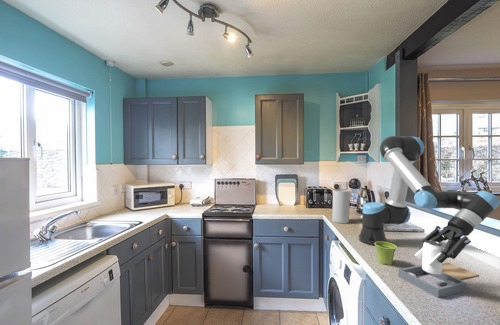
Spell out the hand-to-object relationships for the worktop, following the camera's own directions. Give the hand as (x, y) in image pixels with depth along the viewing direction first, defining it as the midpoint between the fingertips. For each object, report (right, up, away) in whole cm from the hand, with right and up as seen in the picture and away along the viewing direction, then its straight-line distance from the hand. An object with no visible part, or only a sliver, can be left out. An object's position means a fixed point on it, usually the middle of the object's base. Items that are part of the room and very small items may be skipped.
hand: (423, 261), depth 95 cm
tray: (+3, -9, +1) cm, 10 cm away
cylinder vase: (+1, -7, +90) cm, 91 cm away
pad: (+22, -9, +11) cm, 26 cm away
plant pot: (-5, -9, +19) cm, 22 cm away
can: (+4, -4, 0) cm, 6 cm away
